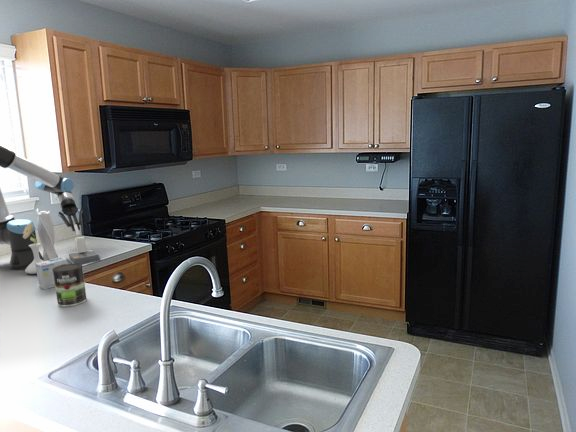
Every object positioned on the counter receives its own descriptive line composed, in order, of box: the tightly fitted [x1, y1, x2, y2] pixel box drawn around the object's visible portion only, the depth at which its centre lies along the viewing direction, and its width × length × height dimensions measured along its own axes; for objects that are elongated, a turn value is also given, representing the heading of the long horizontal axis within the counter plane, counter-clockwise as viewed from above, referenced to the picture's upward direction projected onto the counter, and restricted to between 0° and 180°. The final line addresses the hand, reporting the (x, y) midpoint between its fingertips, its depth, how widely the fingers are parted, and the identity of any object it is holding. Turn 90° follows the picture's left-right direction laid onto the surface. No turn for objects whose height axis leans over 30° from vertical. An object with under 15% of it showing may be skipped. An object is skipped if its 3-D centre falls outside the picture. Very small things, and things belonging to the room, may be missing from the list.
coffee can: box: [52, 263, 88, 308], centre depth 165 cm, size 10×10×14 cm
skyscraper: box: [36, 208, 59, 261], centre depth 227 cm, size 8×8×28 cm
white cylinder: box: [74, 236, 87, 253], centre depth 229 cm, size 4×4×8 cm
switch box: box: [68, 249, 100, 265], centre depth 226 cm, size 12×14×3 cm
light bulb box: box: [35, 256, 68, 290], centre depth 188 cm, size 11×7×11 cm, turn 141°
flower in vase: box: [23, 223, 44, 275], centre depth 205 cm, size 13×11×25 cm
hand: (78, 235), depth 238 cm, fingers closed
